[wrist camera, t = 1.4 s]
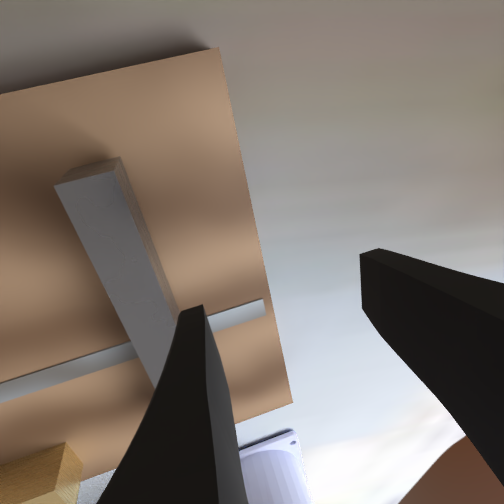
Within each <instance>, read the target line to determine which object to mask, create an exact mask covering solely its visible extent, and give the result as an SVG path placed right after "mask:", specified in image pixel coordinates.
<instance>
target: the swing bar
mask: <svg viewBox="0 0 504 504" xmlns="http://www.w3.org/2000/svg"><path fill="white" fill-rule="evenodd" d="M54 188H55V190H56V192H57V194H58V196H59V198H60V200H61V202H62V204H63V206H64V208H65V210H66V212H67V214H68V216H69V218H70V220H71V222H72V224H73V226H74V228H75V230H76V232H77V234H78V236H79V238H80V240H81V242H82V244H83V246H84V248H85V250H86V252H87V254H88V256H89V258H90V260H91V262H92V264H93V266H94V268H95V270H96V272H97V274H98V276H99V278H100V280H101V282H102V284H103V286H104V288H105V290H106V292H107V294H108V296H109V298H110V300H111V302H112V304H113V306H114V308H115V310H116V312H117V314H118V316H119V318H120V320H121V322H122V324H123V326H124V328H125V330H126V332H127V334H128V336H129V338H130V340H131V342H132V344H133V346H134V348H135V350H136V352H137V354H138V356H139V358H140V360H141V362H142V364H143V366H144V368H145V370H146V372H147V374H148V376H149V378H150V380H151V382H152V384H153V386H154V388H156V386H157V384H158V381H159V379H160V376H161V373H162V371H163V368H164V365H165V362H166V359H167V356H168V353H169V350H170V347H171V343H172V340H173V337H174V333H175V329H176V325H177V320H178V315H179V314H180V311H179V309H178V306H177V303H176V301H175V298H174V295H173V293H172V290H171V288H170V285H169V282H168V280H167V277H166V275H165V272H164V269H163V267H162V264H161V261H160V259H159V256H158V254H157V251H156V248H155V246H154V243H153V241H152V238H151V235H150V233H149V230H148V227H147V225H146V222H145V220H144V217H143V214H142V212H141V209H140V207H139V204H138V201H137V199H136V196H135V193H134V191H133V188H132V186H131V183H130V180H129V178H128V175H127V173H126V170H125V167H124V165H123V162H122V160H121V157H120V156H119V157H115V158H111V159H107V160H103V161H99V162H95V163H91V164H87V165H83V166H79V167H75V168H71V169H69V170H68V171H67V172H66V173H65V174H64V175H63V177H62V178H61V179H60V180H59V181H58V182H57V183H56V184H55V185H54Z"/></svg>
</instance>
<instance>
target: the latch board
mask: <svg viewBox="0 0 504 504" xmlns="http://www.w3.org/2000/svg"><path fill="white" fill-rule="evenodd" d="M119 156H120V157H121V160H122V162H123V165H124V167H125V170H126V173H127V175H128V178H129V180H130V183H131V186H132V188H133V191H134V193H135V196H136V199H137V201H138V204H139V207H140V209H141V212H142V214H143V217H144V220H145V222H146V225H147V227H148V230H149V233H150V235H151V238H152V241H153V243H154V246H155V248H156V251H157V254H158V256H159V259H160V261H161V264H162V267H163V269H164V272H165V275H166V277H167V280H168V282H169V285H170V288H171V290H172V293H173V295H174V298H175V301H176V303H177V306H178V309H179V311H180V312H181V311H183V310H186V309H189V308H192V307H195V306H198V305H202V304H203V306H204V309H205V312H206V315H207V318H208V321H209V324H210V327H211V330H212V333H213V336H214V339H215V342H216V345H217V348H218V351H219V354H220V357H221V361H222V364H223V368H224V372H225V376H226V379H227V383H228V387H229V392H230V398H231V404H232V411H233V417H234V423H235V424H237V423H240V422H242V421H245V420H248V419H250V418H253V417H256V416H259V415H261V414H264V413H267V412H269V411H272V410H275V409H277V408H280V407H283V406H285V405H288V404H291V403H293V401H292V396H291V391H290V386H289V381H288V377H287V372H286V367H285V362H284V357H283V353H282V348H281V343H280V338H279V334H278V329H277V324H276V319H275V314H274V310H273V305H272V300H271V295H270V290H269V286H268V281H267V276H266V271H265V266H264V262H263V257H262V252H261V247H260V242H259V238H258V233H257V228H256V223H255V218H254V214H253V209H252V204H251V199H250V194H249V190H248V185H247V180H246V175H245V170H244V166H243V161H242V156H241V151H240V146H239V142H238V137H237V132H236V127H235V122H234V118H233V113H232V108H231V103H230V99H229V94H228V89H227V84H226V79H225V75H224V70H223V65H222V60H221V55H220V51H219V47H217V48H212V49H208V50H203V51H199V52H194V53H189V54H185V55H180V56H175V57H171V58H166V59H161V60H157V61H152V62H148V63H143V64H138V65H134V66H129V67H124V68H120V69H115V70H111V71H106V72H101V73H97V74H92V75H87V76H83V77H78V78H73V79H69V80H64V81H60V82H55V83H50V84H46V85H41V86H36V87H32V88H27V89H23V90H18V91H13V92H9V93H4V94H0V465H3V464H6V463H9V462H11V461H14V460H17V459H20V458H23V457H25V456H28V455H31V454H34V453H37V452H40V451H42V450H45V449H48V448H51V447H54V446H56V445H59V444H62V443H65V442H67V444H68V445H69V446H70V448H71V449H72V450H73V451H74V453H75V454H76V455H77V457H78V458H79V459H80V460H81V462H82V463H83V470H82V475H81V481H84V480H86V479H89V478H92V477H94V476H97V475H100V474H103V473H105V472H108V471H111V470H113V469H116V468H117V467H118V465H119V464H120V462H121V460H122V458H123V456H124V455H125V453H126V451H127V449H128V447H129V445H130V443H131V441H132V439H133V437H134V435H135V433H136V431H137V429H138V427H139V425H140V423H141V421H142V419H143V417H144V414H145V412H146V410H147V408H148V405H149V403H150V401H151V398H152V396H153V393H154V391H155V388H154V386H153V384H152V382H151V380H150V378H149V376H148V374H147V372H146V370H145V368H144V366H143V364H142V362H141V360H140V358H139V356H138V354H137V352H136V350H135V348H134V346H133V344H132V342H131V340H130V338H129V336H128V334H127V332H126V330H125V328H124V326H123V324H122V322H121V320H120V318H119V316H118V314H117V312H116V310H115V308H114V306H113V304H112V302H111V300H110V298H109V296H108V294H107V292H106V290H105V288H104V286H103V284H102V282H101V280H100V278H99V276H98V274H97V272H96V270H95V268H94V266H93V264H92V262H91V260H90V258H89V256H88V254H87V252H86V250H85V248H84V246H83V244H82V242H81V240H80V238H79V236H78V234H77V232H76V230H75V228H74V226H73V224H72V222H71V220H70V218H69V216H68V214H67V212H66V210H65V208H64V206H63V204H62V202H61V200H60V198H59V196H58V194H57V192H56V190H55V188H54V185H55V184H56V183H57V182H58V181H59V180H60V179H61V178H62V177H63V175H64V174H65V173H66V172H67V171H68V170H69V169H71V168H75V167H79V166H83V165H87V164H91V163H95V162H99V161H103V160H107V159H111V158H115V157H119ZM81 481H80V482H81Z"/></svg>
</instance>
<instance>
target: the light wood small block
mask: <svg viewBox="0 0 504 504" xmlns="http://www.w3.org/2000/svg"><path fill="white" fill-rule="evenodd" d="M82 470H83V463H82V462H81V460H80V459H79V458H78V457H77V455H76V454H75V453H74V451H73V450H72V449H71V448H70V446H69V445H68V444H67V442H65V443H62V444H59V445H56V446H54V447H51V448H48V449H45V450H42V451H40V452H37V453H34V454H31V455H28V456H25V457H23V458H20V459H17V460H14V461H11V462H9V463H6V464H3V465H0V504H76V503H77V497H78V492H79V486H80V481H81V475H82Z"/></svg>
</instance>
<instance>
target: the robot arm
mask: <svg viewBox="0 0 504 504" xmlns="http://www.w3.org/2000/svg"><path fill="white" fill-rule="evenodd" d="M360 274H361V296H362V309H363V311H364V312H365V314H366V315H367V317H368V318H369V320H370V321H371V323H372V324H373V326H374V327H375V328H376V330H377V331H378V333H379V334H380V335H381V337H382V338H383V339H384V340H385V341H386V342H387V343H388V345H389V346H390V347H391V348H392V349H393V350H394V351H395V352H396V353H397V355H398V356H399V357H400V358H401V359H402V360H403V361H404V362H405V363H406V364H407V365H408V367H409V368H410V369H411V370H412V371H413V372H414V373H415V374H416V375H417V376H418V378H419V379H420V380H421V381H422V382H423V383H424V384H425V385H426V386H427V387H428V388H429V390H430V391H431V392H432V393H433V394H434V395H435V396H436V397H437V398H438V400H439V401H440V402H441V403H442V404H443V406H444V407H445V408H446V409H447V410H448V412H449V413H450V414H451V415H452V417H453V418H454V419H455V421H456V422H457V423H458V425H459V426H460V427H461V429H462V430H463V431H464V433H465V434H466V435H467V437H468V438H469V439H470V440H471V442H472V443H473V444H474V446H475V447H476V449H477V450H478V451H479V453H480V454H481V456H482V457H483V458H484V460H485V461H486V463H487V464H488V465H489V467H490V468H491V469H492V471H493V472H494V474H495V475H496V476H497V478H498V479H499V481H500V482H501V483H502V485H503V486H504V283H500V282H496V281H492V280H488V279H484V278H481V277H477V276H473V275H469V274H466V273H462V272H459V271H455V270H452V269H448V268H445V267H442V266H438V265H435V264H432V263H428V262H425V261H422V260H419V259H415V258H412V257H409V256H406V255H402V254H399V253H396V252H392V251H388V250H384V249H380V248H378V249H374V250H371V251H368V252H365V253H362V254H360ZM96 504H314V501H313V498H312V496H311V493H310V491H309V487H308V482H307V477H306V473H305V468H304V463H303V459H302V454H301V449H300V444H299V440H298V436H297V433H296V432H295V431H290V432H287V433H285V434H282V435H280V436H277V437H274V438H272V439H269V440H267V441H264V442H261V443H259V444H256V445H254V446H251V447H248V448H246V449H243V450H240V451H239V449H238V443H237V436H236V430H235V423H234V417H233V411H232V404H231V398H230V392H229V387H228V383H227V379H226V376H225V372H224V368H223V364H222V361H221V357H220V354H219V351H218V348H217V345H216V342H215V339H214V336H213V333H212V330H211V327H210V324H209V321H208V318H207V315H206V312H205V309H204V306H203V304H202V305H198V306H195V307H192V308H189V309H186V310H183V311H181V312H180V314H179V315H178V320H177V325H176V329H175V333H174V337H173V340H172V343H171V347H170V350H169V353H168V356H167V359H166V362H165V365H164V368H163V371H162V373H161V376H160V379H159V381H158V384H157V386H156V388H155V391H154V393H153V396H152V398H151V401H150V403H149V405H148V408H147V410H146V412H145V414H144V417H143V419H142V421H141V423H140V425H139V427H138V429H137V431H136V433H135V435H134V437H133V439H132V441H131V443H130V445H129V447H128V449H127V451H126V453H125V455H124V456H123V458H122V460H121V462H120V464H119V465H118V467H117V469H116V471H115V472H114V474H113V476H112V478H111V480H110V481H109V483H108V485H107V487H106V488H105V490H104V492H103V493H102V495H101V497H100V498H99V500H98V502H97V503H96Z"/></svg>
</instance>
